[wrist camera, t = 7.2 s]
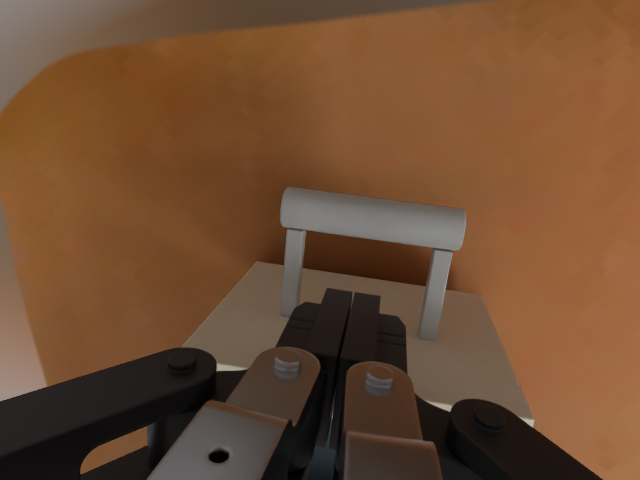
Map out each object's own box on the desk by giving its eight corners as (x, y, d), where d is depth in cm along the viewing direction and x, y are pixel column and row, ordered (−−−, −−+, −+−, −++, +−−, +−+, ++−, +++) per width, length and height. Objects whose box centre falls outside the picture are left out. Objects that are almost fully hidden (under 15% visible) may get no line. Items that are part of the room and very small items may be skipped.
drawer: (262, 161, 21) (173, 200, 13) (503, 191, 20) (581, 256, 11) (242, 488, 26) (169, 666, 18) (431, 528, 25) (447, 740, 17)
